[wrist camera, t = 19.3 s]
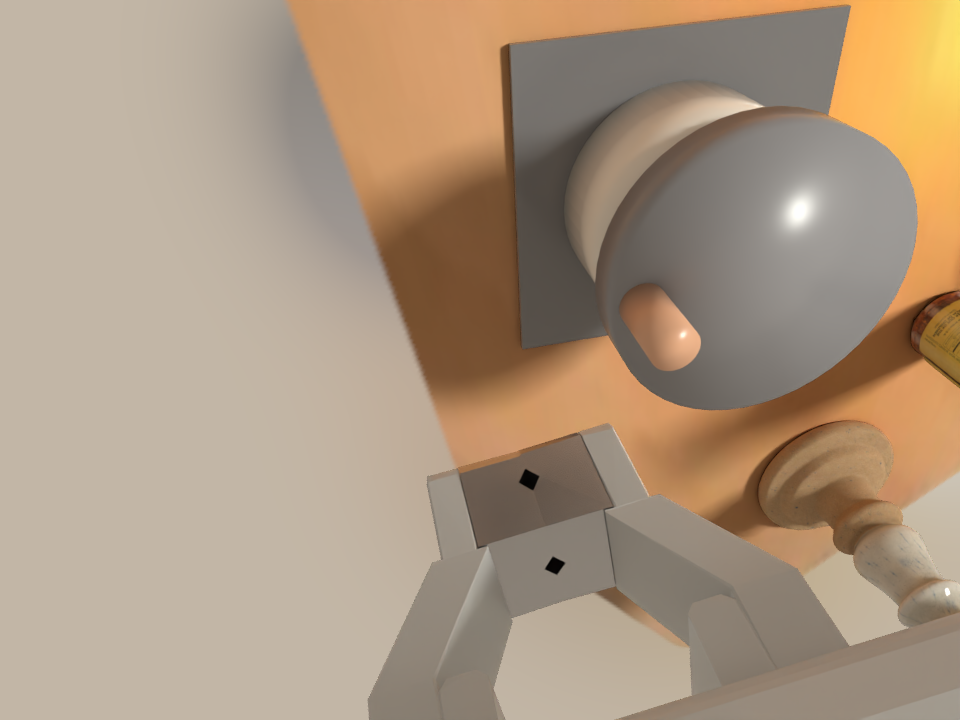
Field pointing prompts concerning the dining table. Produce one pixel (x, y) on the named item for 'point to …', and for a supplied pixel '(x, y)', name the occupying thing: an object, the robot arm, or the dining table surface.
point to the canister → (634, 132)
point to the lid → (754, 256)
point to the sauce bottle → (940, 335)
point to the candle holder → (857, 514)
